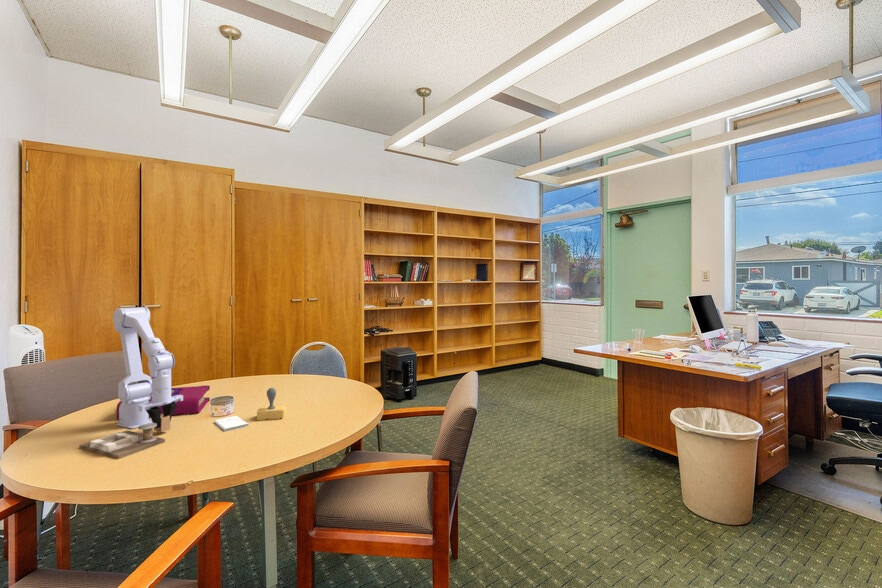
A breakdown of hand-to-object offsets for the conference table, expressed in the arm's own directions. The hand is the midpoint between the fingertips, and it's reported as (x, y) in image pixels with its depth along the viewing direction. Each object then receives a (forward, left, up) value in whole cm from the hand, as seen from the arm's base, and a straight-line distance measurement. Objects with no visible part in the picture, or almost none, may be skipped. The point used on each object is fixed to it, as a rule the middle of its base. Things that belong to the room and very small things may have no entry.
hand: (161, 425), depth 143 cm
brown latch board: (-1, -12, -3) cm, 12 cm away
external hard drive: (+15, +16, -3) cm, 22 cm away
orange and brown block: (0, 0, -2) cm, 2 cm away
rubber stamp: (+23, +28, -3) cm, 36 cm away
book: (-24, +18, -3) cm, 31 cm away
